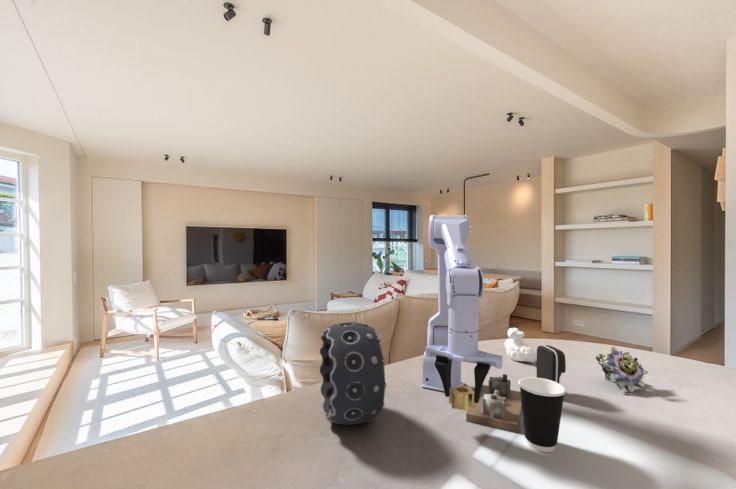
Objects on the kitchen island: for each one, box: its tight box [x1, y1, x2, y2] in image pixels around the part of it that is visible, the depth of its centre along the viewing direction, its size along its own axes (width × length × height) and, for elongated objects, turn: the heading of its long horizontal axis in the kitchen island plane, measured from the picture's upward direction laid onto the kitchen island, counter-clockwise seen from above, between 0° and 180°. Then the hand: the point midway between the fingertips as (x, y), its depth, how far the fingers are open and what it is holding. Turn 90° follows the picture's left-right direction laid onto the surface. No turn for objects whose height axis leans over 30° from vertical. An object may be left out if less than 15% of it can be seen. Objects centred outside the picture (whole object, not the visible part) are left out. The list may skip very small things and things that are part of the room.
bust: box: [503, 327, 537, 364], centre depth 112 cm, size 12×8×11 cm
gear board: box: [465, 373, 522, 434], centre depth 79 cm, size 10×17×6 cm, turn 154°
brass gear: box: [448, 385, 475, 412], centre depth 70 cm, size 5×5×3 cm
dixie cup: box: [517, 376, 567, 453], centre depth 66 cm, size 8×8×11 cm
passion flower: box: [595, 346, 649, 394], centre depth 93 cm, size 11×11×12 cm
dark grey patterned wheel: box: [319, 321, 387, 426], centre depth 74 cm, size 11×20×20 cm, turn 15°
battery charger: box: [535, 344, 567, 384], centre depth 88 cm, size 7×4×11 cm, turn 8°
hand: (462, 397), depth 70 cm, fingers closed on brass gear, 5 cm apart
